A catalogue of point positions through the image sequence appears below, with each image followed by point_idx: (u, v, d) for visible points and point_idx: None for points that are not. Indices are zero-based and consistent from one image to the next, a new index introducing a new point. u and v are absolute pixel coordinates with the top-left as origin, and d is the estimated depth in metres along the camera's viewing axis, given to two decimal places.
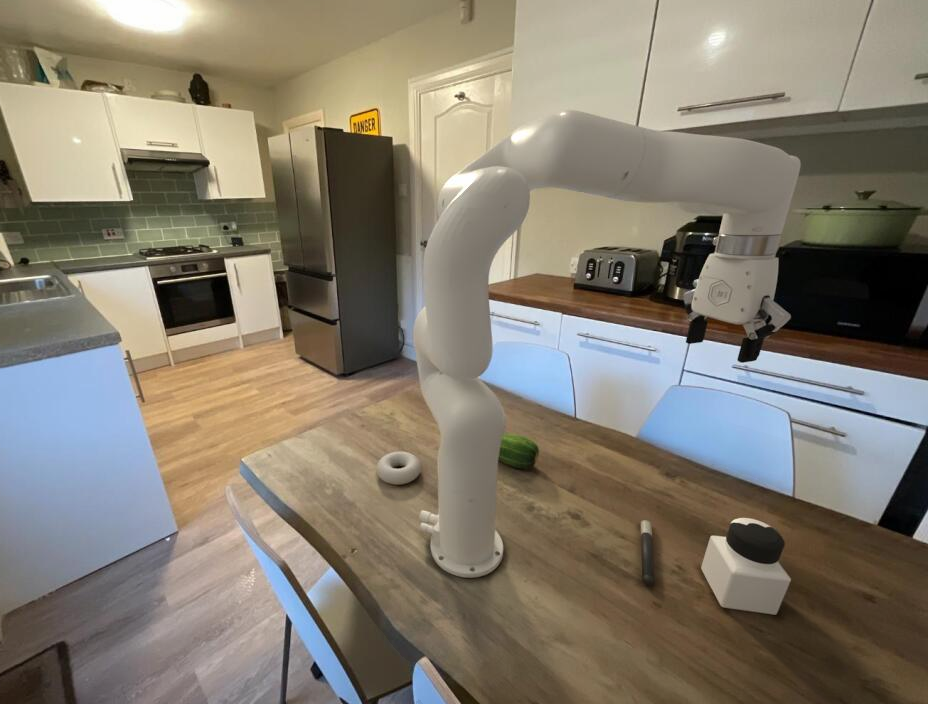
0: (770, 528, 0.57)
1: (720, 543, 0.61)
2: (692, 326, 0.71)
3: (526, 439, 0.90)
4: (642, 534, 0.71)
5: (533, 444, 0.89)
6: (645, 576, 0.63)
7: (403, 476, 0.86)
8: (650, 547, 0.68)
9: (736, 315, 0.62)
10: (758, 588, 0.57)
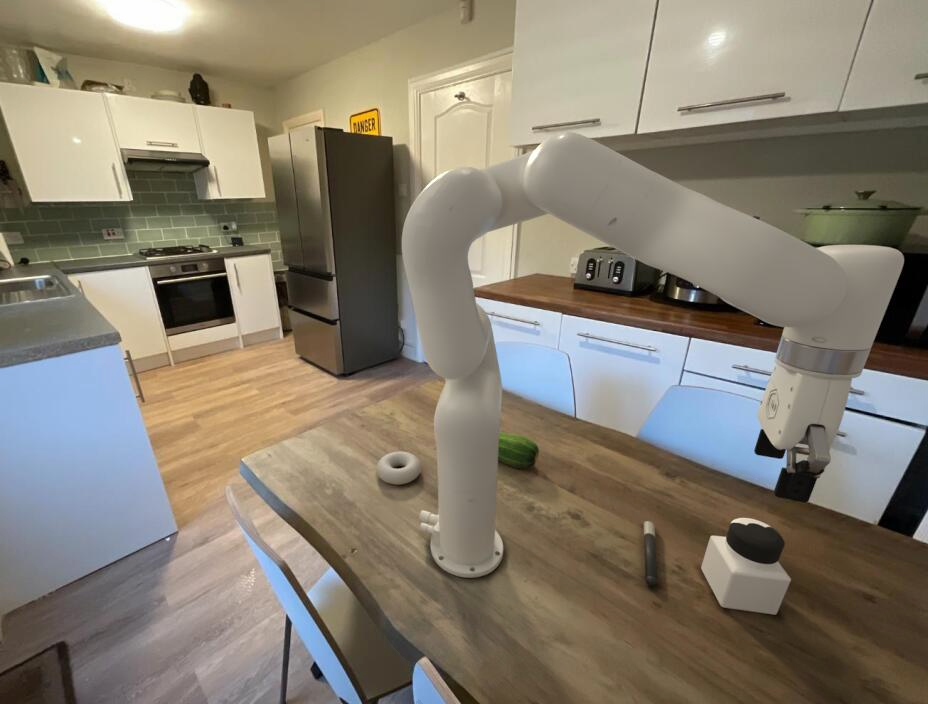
0: (770, 528, 0.57)
1: (720, 543, 0.61)
2: (761, 435, 0.57)
3: (526, 439, 0.90)
4: (647, 534, 0.70)
5: (533, 444, 0.89)
6: (651, 577, 0.63)
7: (403, 476, 0.86)
8: (655, 551, 0.68)
9: (775, 436, 0.50)
10: (758, 588, 0.57)
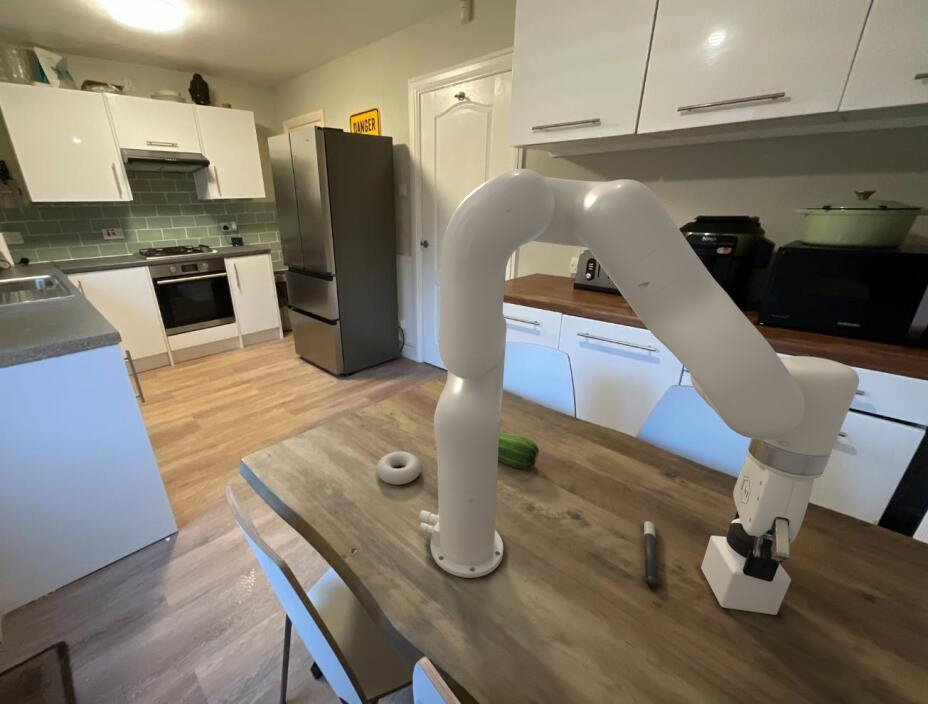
0: None
1: (720, 543, 0.61)
2: (737, 517, 0.61)
3: (526, 439, 0.90)
4: (648, 534, 0.70)
5: (533, 444, 0.89)
6: (652, 577, 0.63)
7: (403, 476, 0.86)
8: (655, 550, 0.68)
9: (746, 522, 0.54)
10: (758, 588, 0.57)
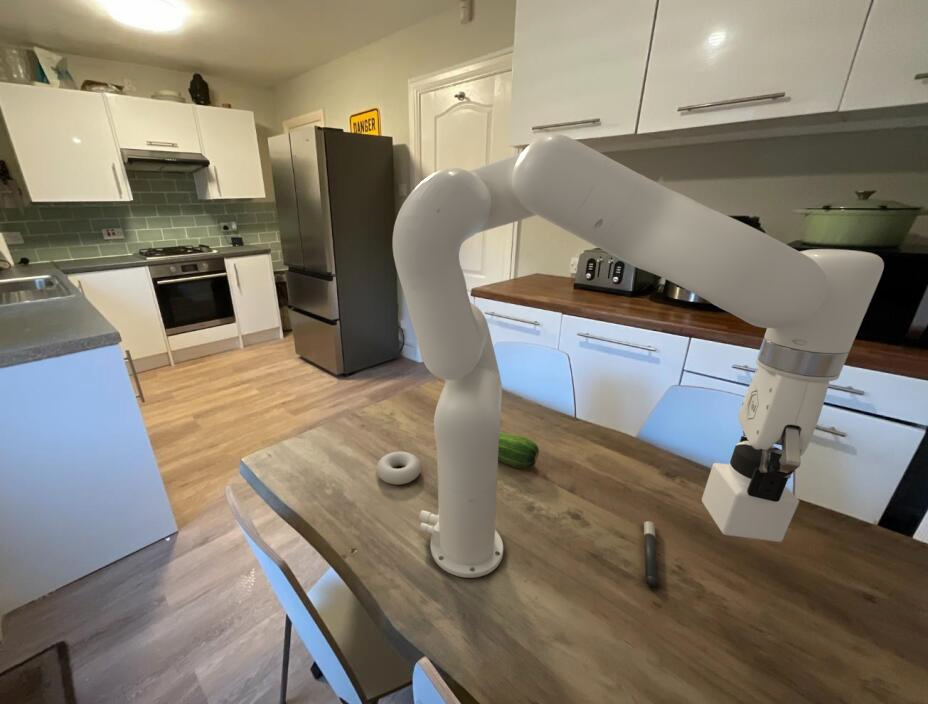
0: None
1: (723, 469, 0.57)
2: None
3: (526, 439, 0.90)
4: (648, 534, 0.70)
5: (533, 444, 0.89)
6: (652, 577, 0.63)
7: (403, 476, 0.86)
8: (655, 550, 0.68)
9: (753, 436, 0.50)
10: (763, 511, 0.53)
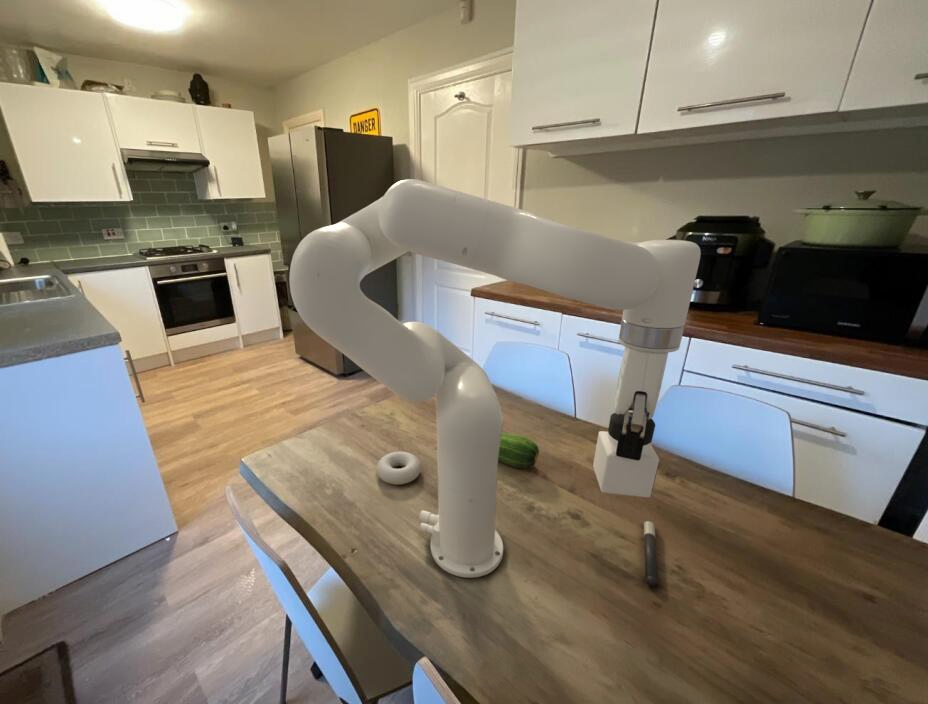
0: None
1: (604, 436, 0.65)
2: None
3: (526, 439, 0.90)
4: (648, 534, 0.70)
5: (533, 444, 0.89)
6: (652, 577, 0.63)
7: (403, 476, 0.86)
8: (655, 550, 0.68)
9: (615, 403, 0.58)
10: (631, 470, 0.60)
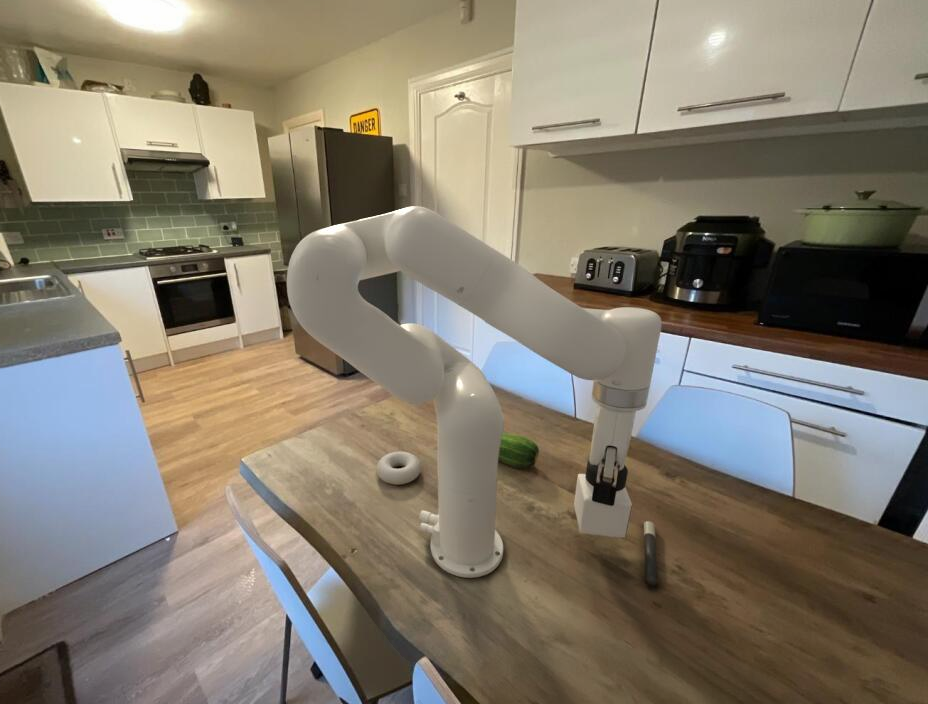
0: None
1: (582, 479, 0.70)
2: None
3: (526, 439, 0.90)
4: (648, 534, 0.70)
5: (533, 444, 0.89)
6: (651, 577, 0.63)
7: (403, 476, 0.86)
8: (655, 550, 0.68)
9: (590, 454, 0.63)
10: (606, 513, 0.65)
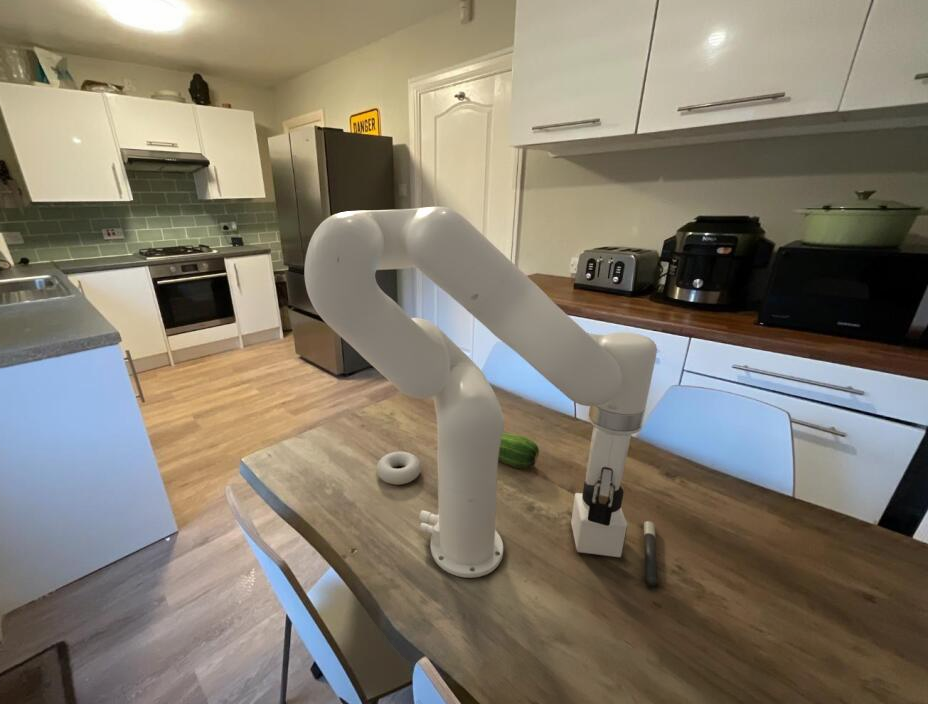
0: None
1: (579, 498, 0.71)
2: None
3: (526, 439, 0.90)
4: (648, 534, 0.70)
5: (533, 444, 0.89)
6: (651, 577, 0.63)
7: (403, 476, 0.86)
8: (655, 550, 0.68)
9: (586, 474, 0.64)
10: (602, 533, 0.67)
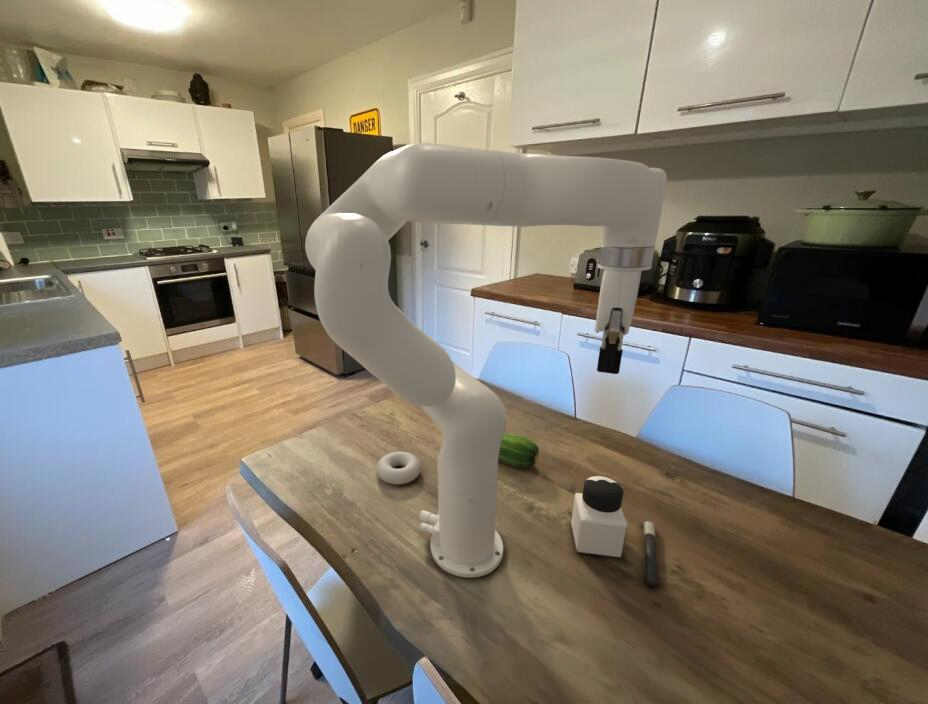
0: (614, 483, 0.67)
1: (579, 498, 0.71)
2: (603, 334, 0.72)
3: (526, 439, 0.90)
4: (648, 534, 0.70)
5: (533, 444, 0.89)
6: (651, 577, 0.63)
7: (403, 476, 0.86)
8: (655, 550, 0.68)
9: None
10: (602, 533, 0.67)
